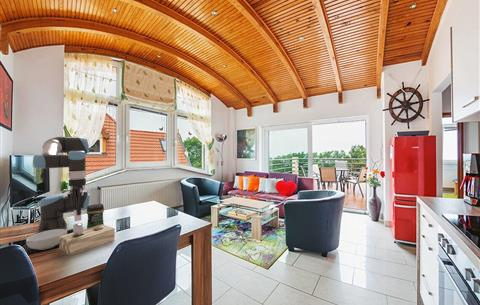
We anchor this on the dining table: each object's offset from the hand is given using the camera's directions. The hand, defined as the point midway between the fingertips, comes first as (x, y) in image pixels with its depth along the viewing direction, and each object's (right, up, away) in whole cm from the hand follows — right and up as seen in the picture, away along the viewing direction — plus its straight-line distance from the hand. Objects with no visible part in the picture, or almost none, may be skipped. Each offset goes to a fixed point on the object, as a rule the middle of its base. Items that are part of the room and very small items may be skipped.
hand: (77, 220), depth 115 cm
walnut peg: (+5, -15, +9) cm, 18 cm away
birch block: (+3, -15, +4) cm, 16 cm away
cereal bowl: (-19, -16, +2) cm, 24 cm away
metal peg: (0, -9, 0) cm, 9 cm away
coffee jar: (-6, -15, +22) cm, 28 cm away
